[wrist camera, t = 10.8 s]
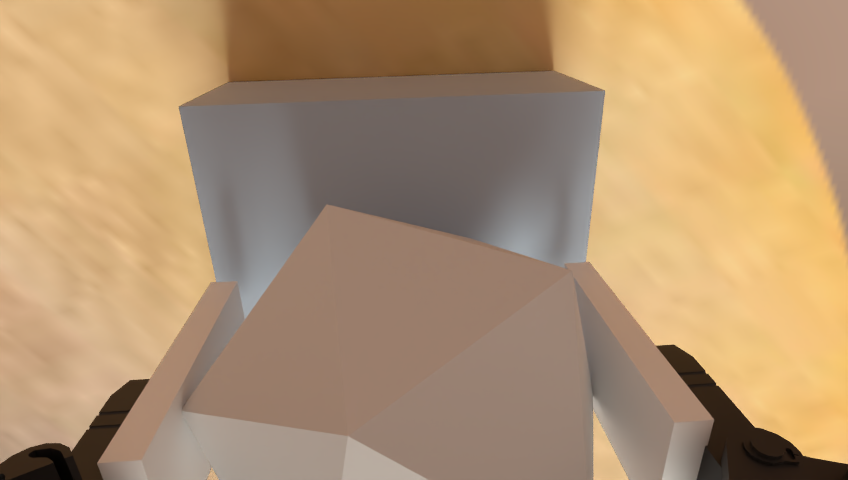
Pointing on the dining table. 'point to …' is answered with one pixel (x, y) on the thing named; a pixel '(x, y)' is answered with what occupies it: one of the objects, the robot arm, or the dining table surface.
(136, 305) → the dining table surface
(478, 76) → the plinth
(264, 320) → the die
